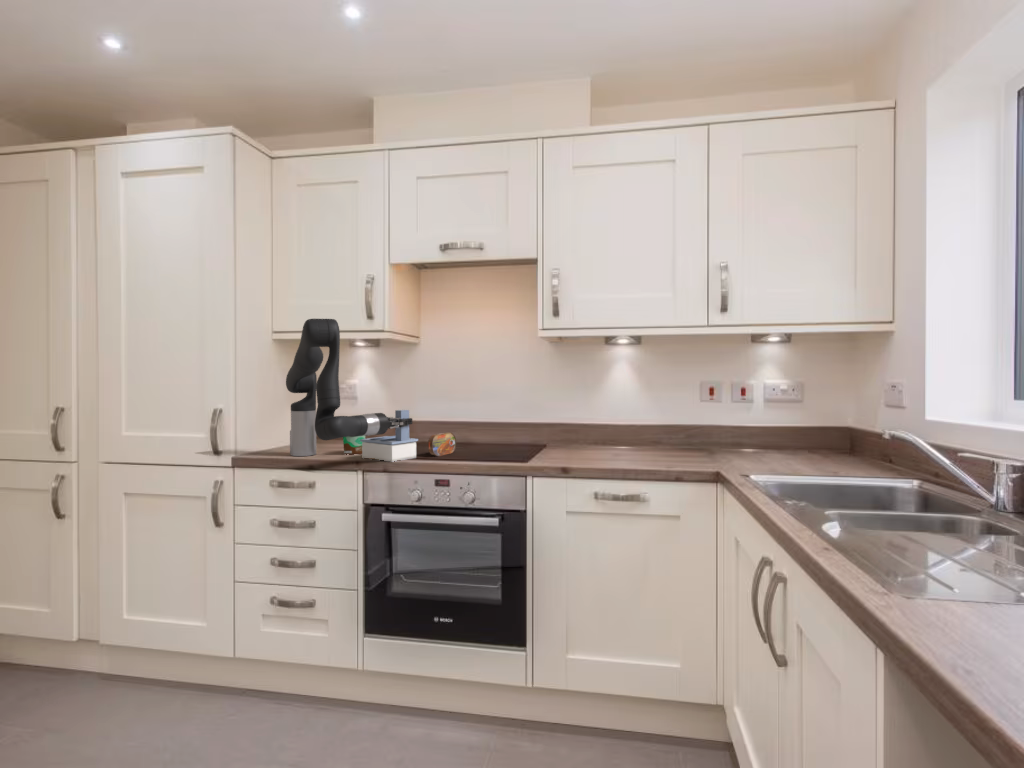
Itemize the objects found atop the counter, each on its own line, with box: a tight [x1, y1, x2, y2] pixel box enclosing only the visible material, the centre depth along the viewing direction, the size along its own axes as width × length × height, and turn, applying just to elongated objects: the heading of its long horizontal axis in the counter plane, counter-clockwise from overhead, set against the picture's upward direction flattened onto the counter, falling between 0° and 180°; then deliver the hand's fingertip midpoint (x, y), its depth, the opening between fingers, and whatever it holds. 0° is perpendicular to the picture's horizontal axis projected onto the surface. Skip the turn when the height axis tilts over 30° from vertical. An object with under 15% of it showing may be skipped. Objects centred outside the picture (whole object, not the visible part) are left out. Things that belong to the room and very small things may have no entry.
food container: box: [342, 436, 366, 456], centre depth 219 cm, size 12×6×10 cm, turn 161°
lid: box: [360, 409, 419, 445], centre depth 207 cm, size 17×13×12 cm
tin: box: [427, 431, 457, 457], centre depth 216 cm, size 15×3×8 cm, turn 149°
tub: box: [361, 441, 417, 463], centre depth 207 cm, size 16×12×6 cm
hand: (408, 420), depth 205 cm, fingers closed on lid, 3 cm apart
